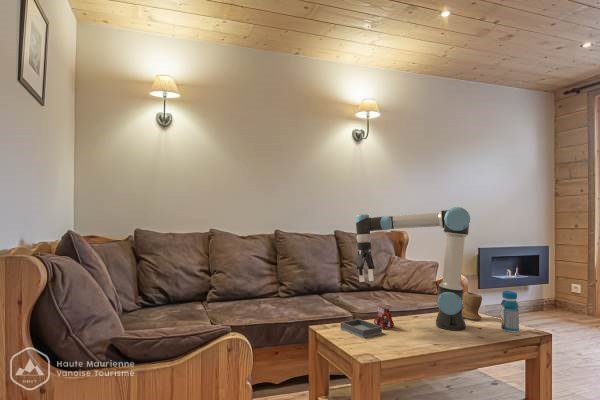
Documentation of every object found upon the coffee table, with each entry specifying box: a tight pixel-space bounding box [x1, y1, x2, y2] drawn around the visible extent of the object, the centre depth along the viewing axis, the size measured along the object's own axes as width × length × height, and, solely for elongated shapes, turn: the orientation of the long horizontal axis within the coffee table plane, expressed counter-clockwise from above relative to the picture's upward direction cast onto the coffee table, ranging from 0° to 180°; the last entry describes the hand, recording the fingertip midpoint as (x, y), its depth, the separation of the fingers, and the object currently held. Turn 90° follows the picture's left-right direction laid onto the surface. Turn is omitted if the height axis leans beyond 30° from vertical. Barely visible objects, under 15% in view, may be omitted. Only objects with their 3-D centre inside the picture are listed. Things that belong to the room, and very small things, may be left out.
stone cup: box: [462, 291, 483, 321], centre depth 222 cm, size 15×12×15 cm
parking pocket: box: [340, 318, 383, 339], centre depth 195 cm, size 17×13×4 cm
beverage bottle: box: [500, 290, 520, 333], centre depth 198 cm, size 8×8×20 cm
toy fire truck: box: [373, 305, 395, 330], centre depth 203 cm, size 7×12×10 cm, turn 22°
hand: (366, 281), depth 205 cm, fingers open, 13 cm apart
